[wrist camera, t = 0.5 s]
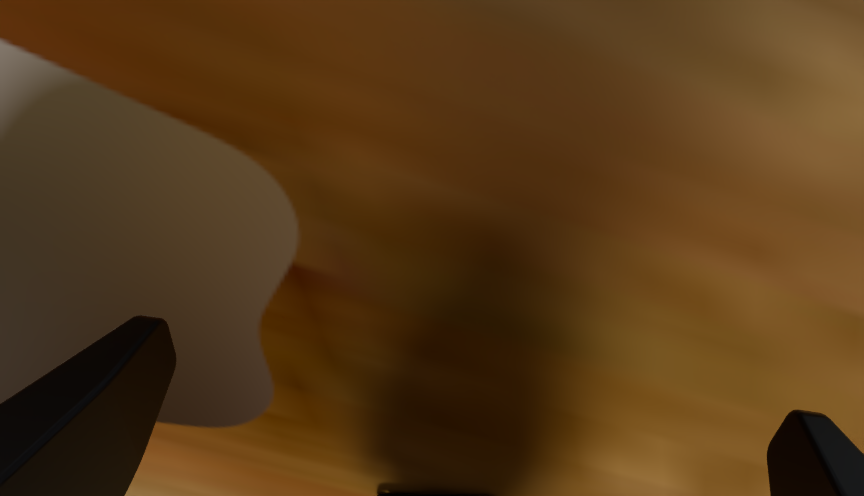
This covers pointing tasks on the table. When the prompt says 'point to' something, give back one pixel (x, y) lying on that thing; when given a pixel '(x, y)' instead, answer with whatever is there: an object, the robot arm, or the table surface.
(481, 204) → the table surface
